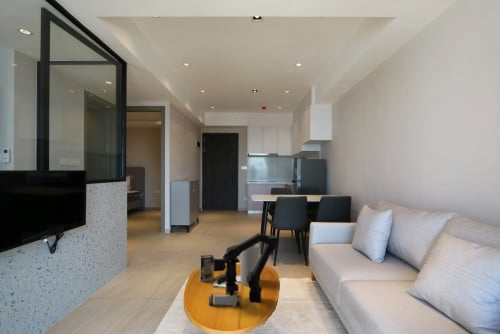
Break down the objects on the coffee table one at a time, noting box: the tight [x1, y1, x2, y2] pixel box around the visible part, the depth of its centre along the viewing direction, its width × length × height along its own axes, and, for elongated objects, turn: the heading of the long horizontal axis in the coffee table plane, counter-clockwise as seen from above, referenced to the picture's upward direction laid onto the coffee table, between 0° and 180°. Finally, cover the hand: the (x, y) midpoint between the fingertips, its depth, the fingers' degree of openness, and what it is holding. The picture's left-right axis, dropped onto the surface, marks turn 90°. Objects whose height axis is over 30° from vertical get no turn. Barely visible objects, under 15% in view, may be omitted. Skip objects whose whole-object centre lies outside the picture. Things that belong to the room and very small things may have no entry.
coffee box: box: [199, 254, 215, 283], centre depth 191 cm, size 9×6×16 cm
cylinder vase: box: [240, 243, 260, 287], centre depth 188 cm, size 12×12×25 cm
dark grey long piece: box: [208, 293, 242, 309], centre depth 155 cm, size 18×4×6 cm, turn 88°
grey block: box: [213, 294, 237, 305], centre depth 156 cm, size 12×2×5 cm, turn 88°
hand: (231, 297), depth 160 cm, fingers closed
